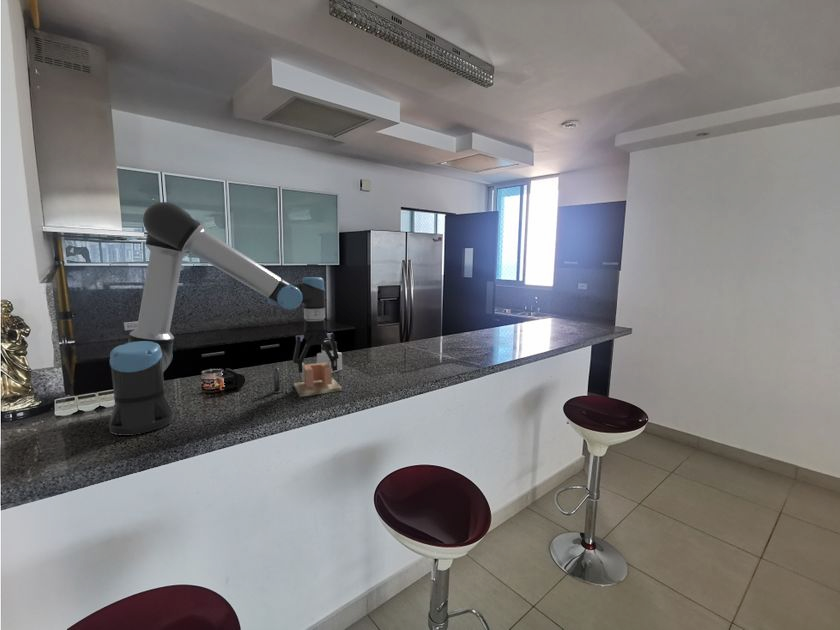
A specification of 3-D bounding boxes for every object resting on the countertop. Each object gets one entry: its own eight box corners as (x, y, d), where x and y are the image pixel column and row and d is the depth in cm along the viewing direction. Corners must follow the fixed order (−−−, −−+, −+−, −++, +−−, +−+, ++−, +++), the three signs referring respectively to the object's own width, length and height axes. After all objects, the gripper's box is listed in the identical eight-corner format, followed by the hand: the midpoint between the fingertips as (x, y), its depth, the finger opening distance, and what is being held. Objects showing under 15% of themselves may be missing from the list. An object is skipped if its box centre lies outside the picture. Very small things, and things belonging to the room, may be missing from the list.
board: (299, 396, 135) (299, 393, 135) (293, 386, 147) (293, 383, 146) (341, 390, 142) (341, 387, 142) (333, 380, 153) (333, 378, 153)
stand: (273, 393, 138) (272, 369, 137) (272, 391, 140) (271, 367, 139) (281, 392, 139) (280, 368, 138) (280, 390, 142) (279, 366, 140)
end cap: (246, 389, 143) (245, 371, 142) (226, 394, 138) (225, 375, 137) (234, 383, 150) (233, 366, 149) (215, 388, 144) (214, 370, 144)
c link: (306, 387, 138) (306, 370, 137) (302, 380, 146) (302, 364, 145) (331, 384, 142) (331, 368, 141) (326, 377, 150) (326, 362, 149)
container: (342, 369, 169) (342, 340, 168) (329, 374, 163) (328, 343, 161) (330, 367, 173) (329, 338, 172) (316, 371, 167) (316, 341, 165)
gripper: (285, 322, 133) (287, 385, 136) (346, 319, 143) (347, 378, 146) (282, 320, 140) (284, 380, 143) (341, 316, 149) (342, 373, 152)
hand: (316, 379), depth 144 cm, fingers closed on c link, 9 cm apart
